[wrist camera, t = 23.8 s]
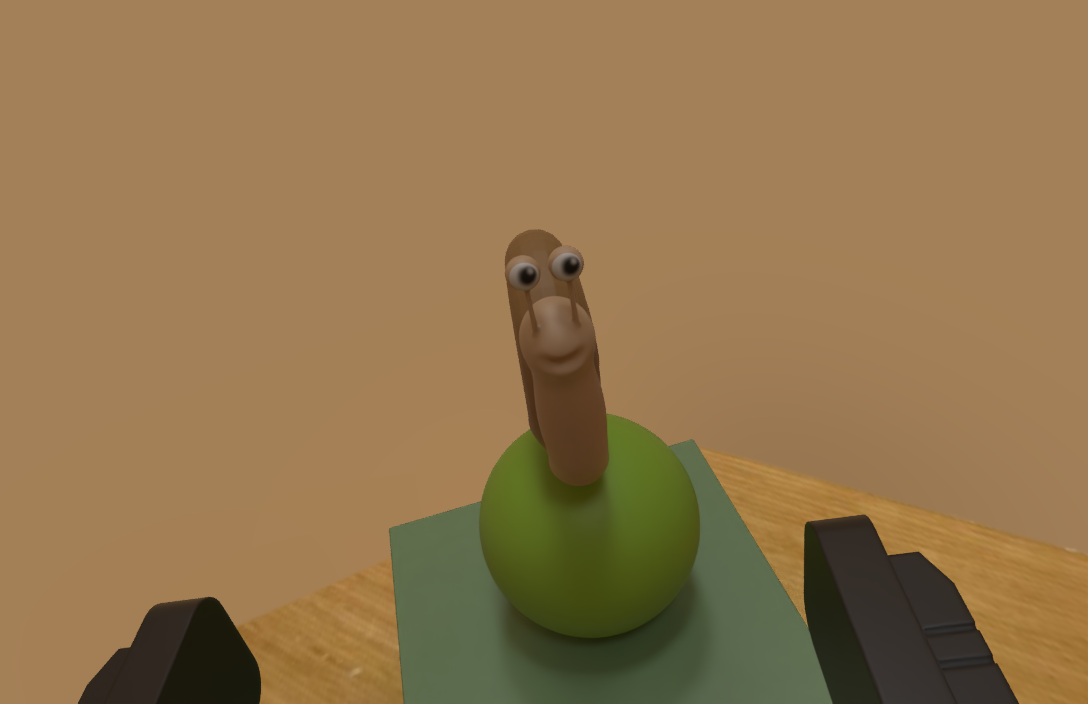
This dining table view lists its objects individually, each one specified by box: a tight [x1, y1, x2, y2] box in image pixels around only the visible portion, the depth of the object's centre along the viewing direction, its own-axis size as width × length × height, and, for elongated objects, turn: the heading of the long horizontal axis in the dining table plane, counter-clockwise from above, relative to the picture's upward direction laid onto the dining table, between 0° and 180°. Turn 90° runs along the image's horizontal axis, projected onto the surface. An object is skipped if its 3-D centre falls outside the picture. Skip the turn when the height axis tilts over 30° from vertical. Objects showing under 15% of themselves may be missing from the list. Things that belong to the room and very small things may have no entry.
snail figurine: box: [479, 230, 700, 638], centre depth 18 cm, size 5×6×12 cm
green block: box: [389, 439, 833, 704], centre depth 23 cm, size 10×10×5 cm
